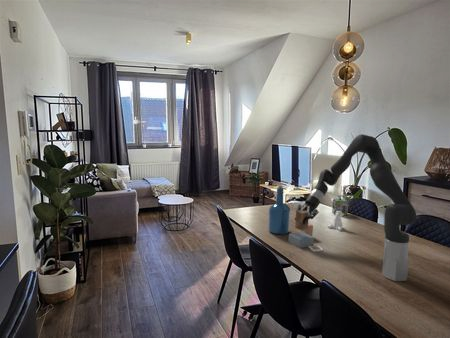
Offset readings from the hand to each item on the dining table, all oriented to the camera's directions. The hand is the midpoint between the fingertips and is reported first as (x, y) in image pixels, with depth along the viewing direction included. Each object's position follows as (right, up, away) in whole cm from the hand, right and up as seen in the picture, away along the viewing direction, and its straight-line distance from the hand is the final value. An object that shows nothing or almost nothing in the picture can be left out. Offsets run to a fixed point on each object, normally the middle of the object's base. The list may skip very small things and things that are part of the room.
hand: (299, 221), depth 172 cm
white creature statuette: (+32, -10, +30) cm, 46 cm away
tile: (+8, -14, -5) cm, 17 cm away
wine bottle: (-8, -10, +22) cm, 26 cm away
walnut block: (+1, -4, +2) cm, 5 cm away
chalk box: (+47, -6, +65) cm, 81 cm away
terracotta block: (+8, -12, +14) cm, 20 cm away
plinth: (+1, -13, +3) cm, 14 cm away
